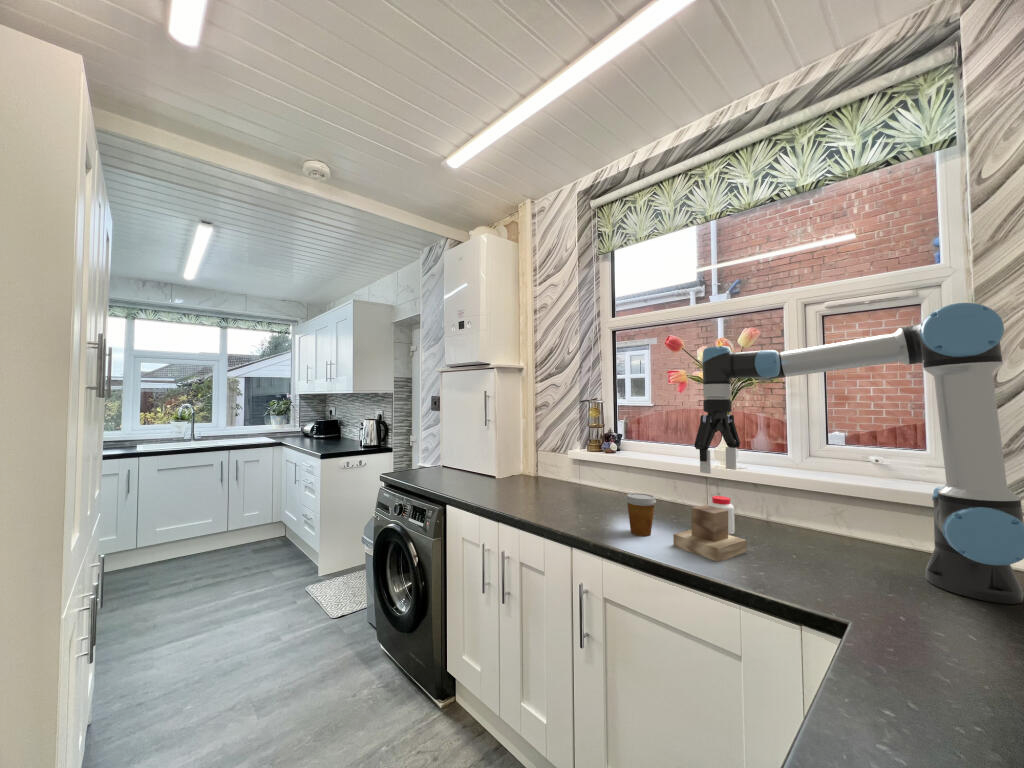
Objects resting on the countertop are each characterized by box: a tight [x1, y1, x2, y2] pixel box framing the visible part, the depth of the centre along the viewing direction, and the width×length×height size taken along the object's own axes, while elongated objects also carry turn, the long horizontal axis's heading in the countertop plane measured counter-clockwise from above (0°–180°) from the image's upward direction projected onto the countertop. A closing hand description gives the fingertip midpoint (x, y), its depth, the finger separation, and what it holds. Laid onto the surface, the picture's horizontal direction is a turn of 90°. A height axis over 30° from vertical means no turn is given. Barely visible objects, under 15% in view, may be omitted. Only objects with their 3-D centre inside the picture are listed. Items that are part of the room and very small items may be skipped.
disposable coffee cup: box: [625, 492, 657, 537], centre depth 133 cm, size 10×10×12 cm
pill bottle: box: [707, 495, 735, 535], centre depth 137 cm, size 8×8×11 cm
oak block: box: [672, 528, 748, 563], centre depth 119 cm, size 14×14×4 cm
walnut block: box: [691, 504, 729, 542], centre depth 120 cm, size 7×7×8 cm
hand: (718, 471), depth 120 cm, fingers open, 13 cm apart
